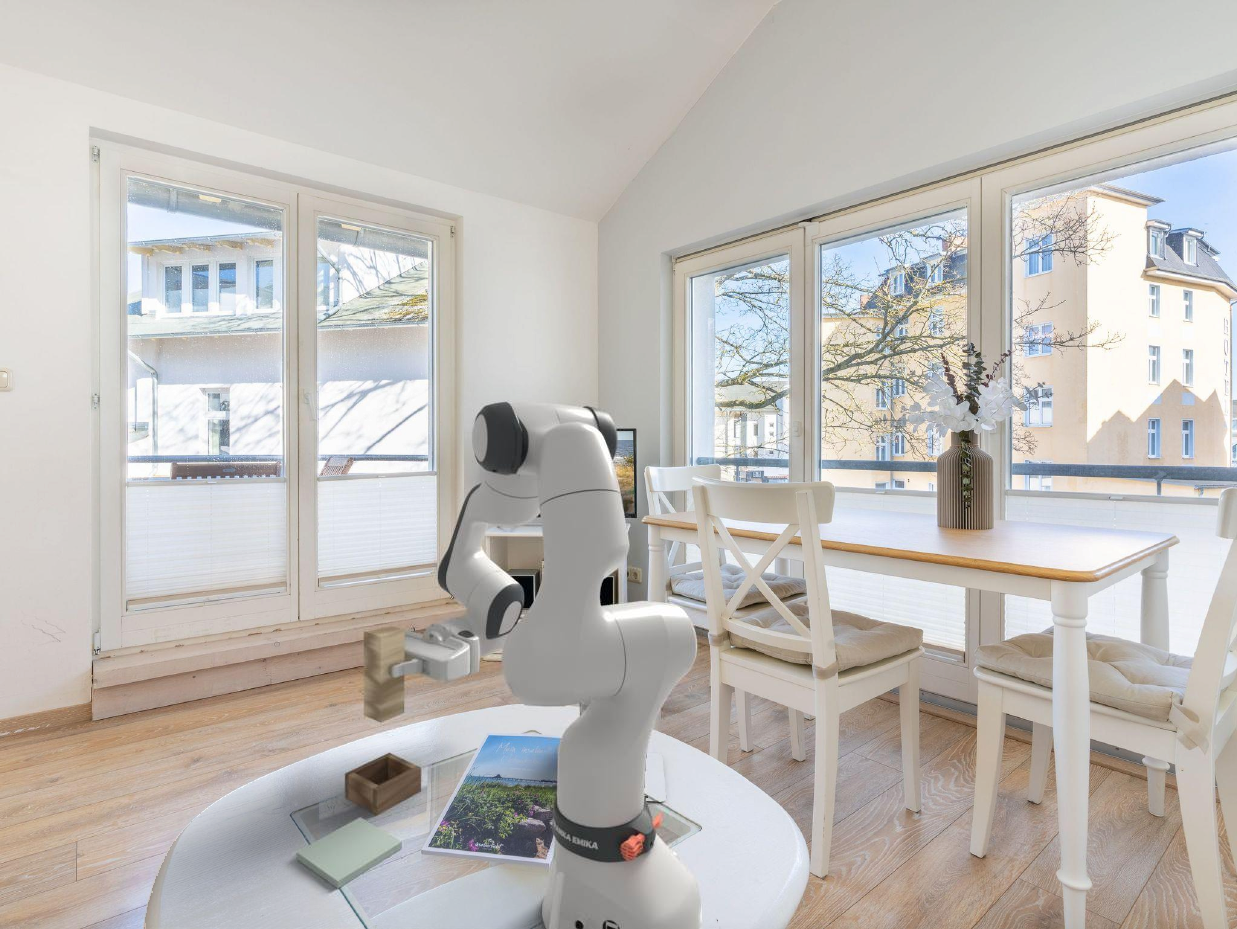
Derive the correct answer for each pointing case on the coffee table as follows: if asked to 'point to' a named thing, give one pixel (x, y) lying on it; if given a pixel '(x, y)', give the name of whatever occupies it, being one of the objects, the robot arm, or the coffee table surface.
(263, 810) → the coffee table surface
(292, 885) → the coffee table surface
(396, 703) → the oak block
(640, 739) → the robot arm
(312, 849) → the pad
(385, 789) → the pocket
